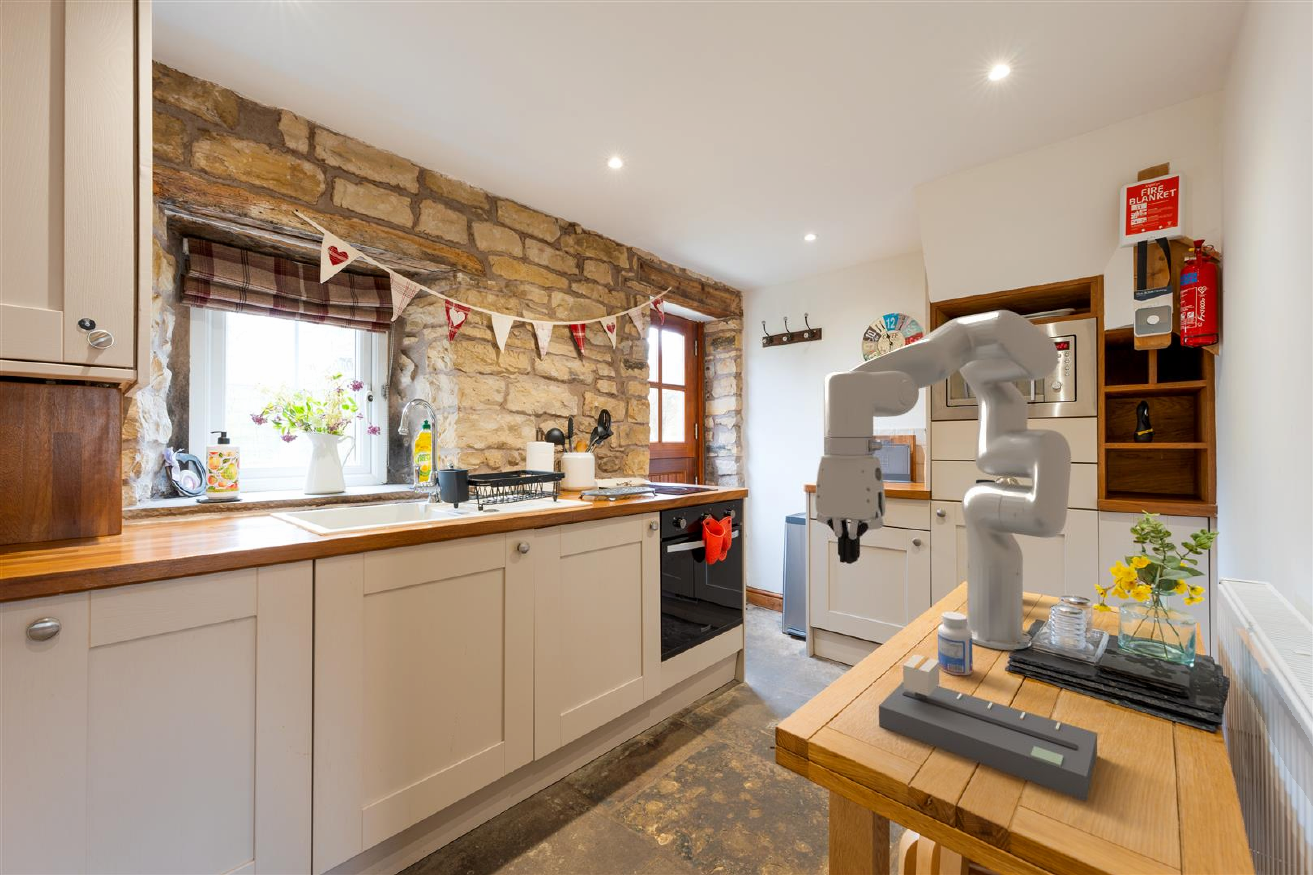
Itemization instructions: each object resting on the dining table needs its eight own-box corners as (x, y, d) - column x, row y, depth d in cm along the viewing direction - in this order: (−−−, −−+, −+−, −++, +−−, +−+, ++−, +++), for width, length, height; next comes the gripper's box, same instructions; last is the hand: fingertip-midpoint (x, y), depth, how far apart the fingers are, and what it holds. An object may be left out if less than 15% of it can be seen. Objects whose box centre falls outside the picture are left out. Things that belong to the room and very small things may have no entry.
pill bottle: (954, 660, 101) (954, 608, 101) (979, 673, 96) (979, 618, 96) (930, 665, 99) (930, 612, 99) (955, 678, 94) (955, 622, 94)
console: (907, 695, 89) (907, 675, 89) (1097, 755, 72) (1097, 731, 72) (878, 725, 80) (878, 704, 80) (1086, 801, 64) (1086, 774, 64)
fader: (914, 686, 85) (914, 653, 85) (939, 693, 82) (939, 659, 82) (903, 698, 81) (903, 664, 81) (928, 706, 79) (928, 671, 78)
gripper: (904, 448, 86) (905, 564, 86) (816, 446, 96) (817, 550, 96) (886, 450, 80) (887, 574, 81) (794, 448, 91) (795, 558, 91)
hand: (848, 561), depth 89 cm, fingers closed
